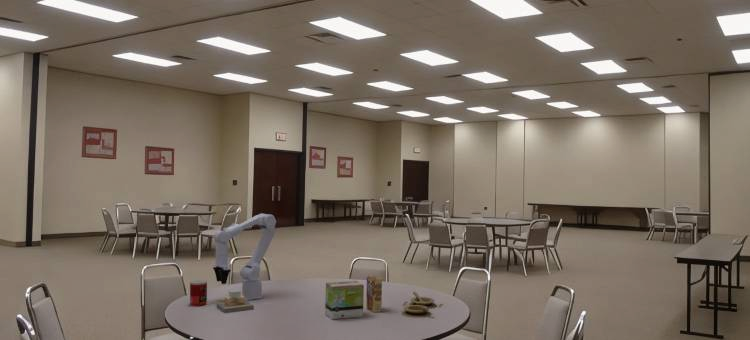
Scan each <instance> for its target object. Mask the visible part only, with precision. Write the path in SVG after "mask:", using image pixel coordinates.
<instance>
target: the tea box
mask: <svg viewBox="0 0 750 340" xmlns="http://www.w3.org/2000/svg"><path fill="white" fill-rule="evenodd" d="M364 287H365V285H364V284H362V283H360V282H359V281H357V280H349V281H333V282H326V283H325V296H324V297H325V298H324V299H325V305H324V306H325V307H324V314H325V315H326V316H327V317H328V318H329V319H330V320H337V319H348V318H363V317H364V297H365V296H364Z"/></svg>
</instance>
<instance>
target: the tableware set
mask: <svg viewBox="0 0 750 340" xmlns="http://www.w3.org/2000/svg"><path fill="white" fill-rule="evenodd" d="M412 294H413V295H414V297H412V298H411V299H410V303H408V301H407V300H406V301H404V302H403V304H402V305H401V307H403V306H404V307H403V311H401V315H402V316H404V317H407V318H414V319H416V318H426V317H429V316H431V311H429V310H430V309H435V308H436V307H437V304H436V303H435V298H432V297H427V296H420V295H419V294H418V293H417V292H416V291H413V292H412ZM407 303H408V304H407ZM443 305H444V303H439V305H438V308H441V307H443Z"/></svg>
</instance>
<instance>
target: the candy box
mask: <svg viewBox="0 0 750 340" xmlns="http://www.w3.org/2000/svg"><path fill="white" fill-rule="evenodd" d="M365 293H366V302H365V303H366V305H365V309H367V310H369V311H371V312H373V313H380V312H382V309H383V308H382V303H383V302H382V301H383V298H382V297H383V279H382V278H380V277H377V276H374V275H369V276H366V292H365Z"/></svg>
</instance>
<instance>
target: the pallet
mask: <svg viewBox="0 0 750 340" xmlns="http://www.w3.org/2000/svg"><path fill="white" fill-rule="evenodd" d="M224 302H225V305H227V306H235V305H243V304H245V296H243V295H242V294H241V297H235V298H231V297H229V295H228V296H224Z"/></svg>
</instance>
